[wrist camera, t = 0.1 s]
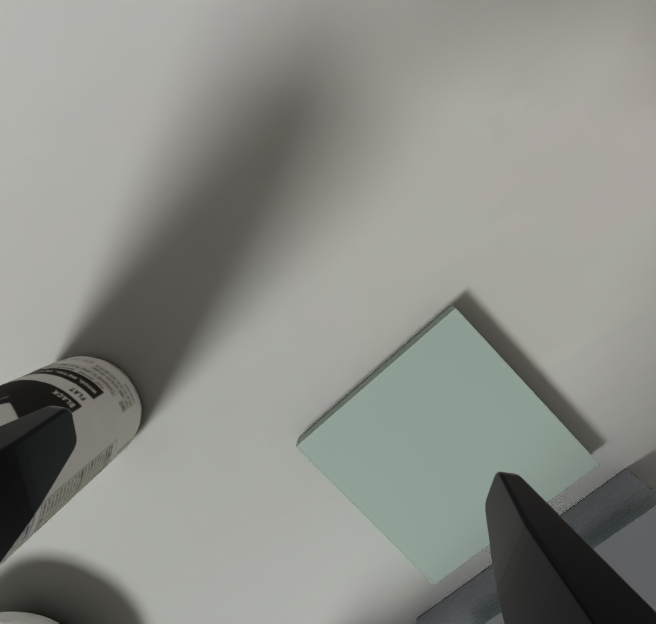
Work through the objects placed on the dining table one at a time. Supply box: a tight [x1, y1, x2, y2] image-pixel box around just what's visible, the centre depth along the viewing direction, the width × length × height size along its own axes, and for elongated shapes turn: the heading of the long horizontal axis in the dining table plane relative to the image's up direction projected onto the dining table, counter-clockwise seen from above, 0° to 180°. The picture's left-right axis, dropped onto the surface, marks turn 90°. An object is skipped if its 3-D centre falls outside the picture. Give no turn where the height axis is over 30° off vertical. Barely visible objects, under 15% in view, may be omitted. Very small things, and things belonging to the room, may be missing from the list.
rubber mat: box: [296, 305, 599, 585], centre depth 24 cm, size 12×12×1 cm
